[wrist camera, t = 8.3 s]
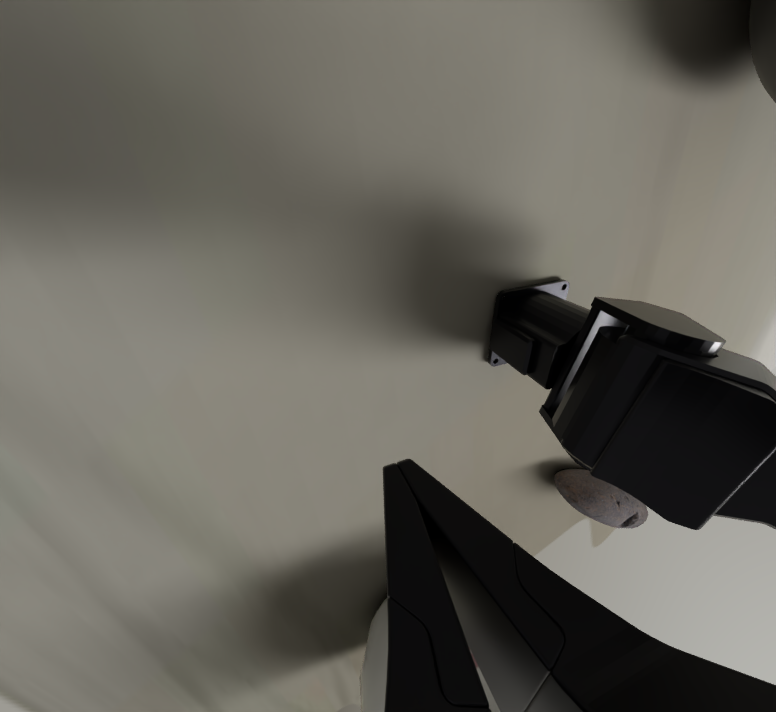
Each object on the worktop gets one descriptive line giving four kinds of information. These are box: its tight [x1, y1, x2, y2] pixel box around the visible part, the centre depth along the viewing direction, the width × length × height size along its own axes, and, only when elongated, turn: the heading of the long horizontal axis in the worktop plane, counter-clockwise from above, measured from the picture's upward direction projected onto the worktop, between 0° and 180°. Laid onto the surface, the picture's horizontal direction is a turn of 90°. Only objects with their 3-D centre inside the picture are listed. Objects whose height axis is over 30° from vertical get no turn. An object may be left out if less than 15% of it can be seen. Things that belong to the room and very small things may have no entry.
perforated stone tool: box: [554, 469, 648, 528], centre depth 40 cm, size 15×5×7 cm, turn 56°
